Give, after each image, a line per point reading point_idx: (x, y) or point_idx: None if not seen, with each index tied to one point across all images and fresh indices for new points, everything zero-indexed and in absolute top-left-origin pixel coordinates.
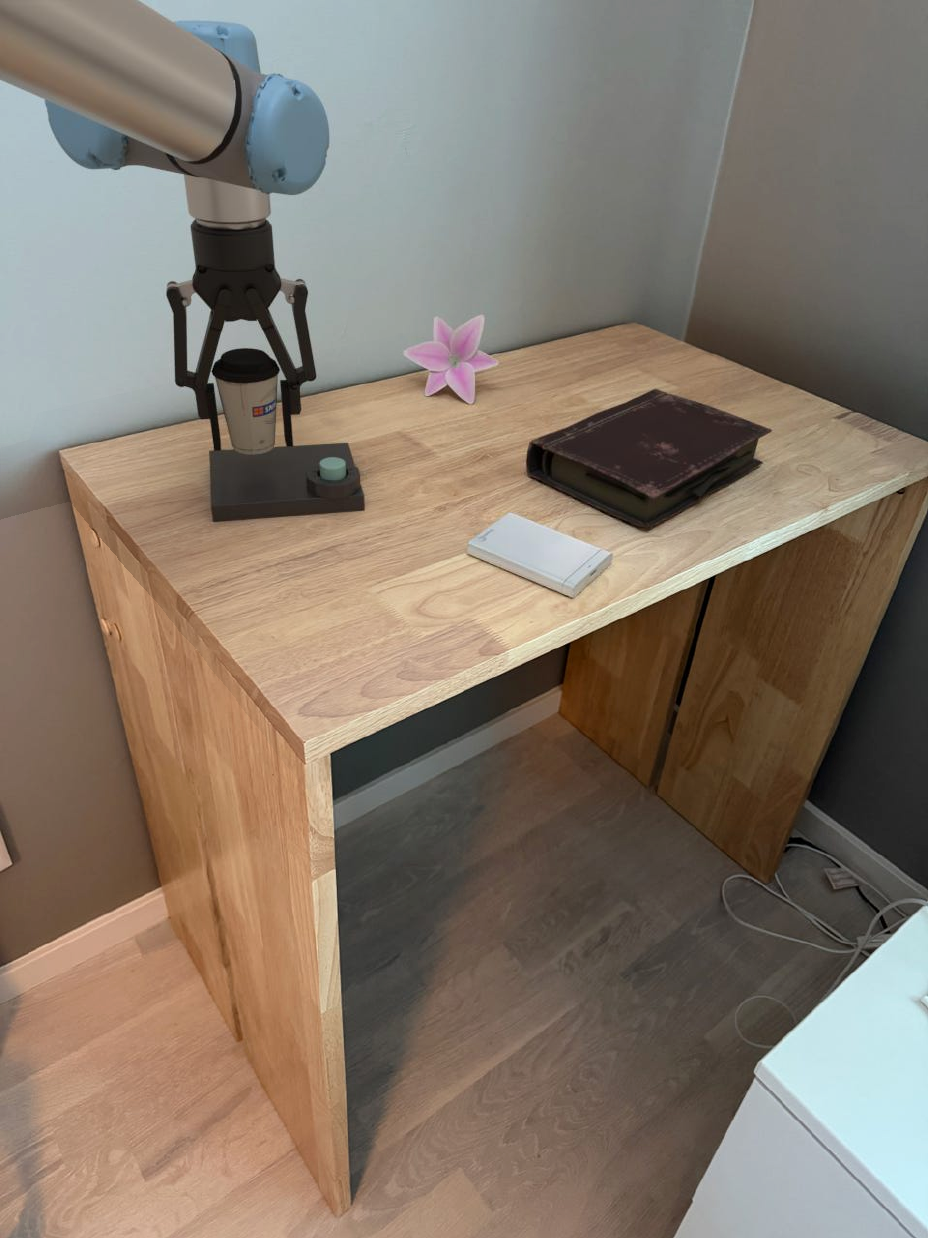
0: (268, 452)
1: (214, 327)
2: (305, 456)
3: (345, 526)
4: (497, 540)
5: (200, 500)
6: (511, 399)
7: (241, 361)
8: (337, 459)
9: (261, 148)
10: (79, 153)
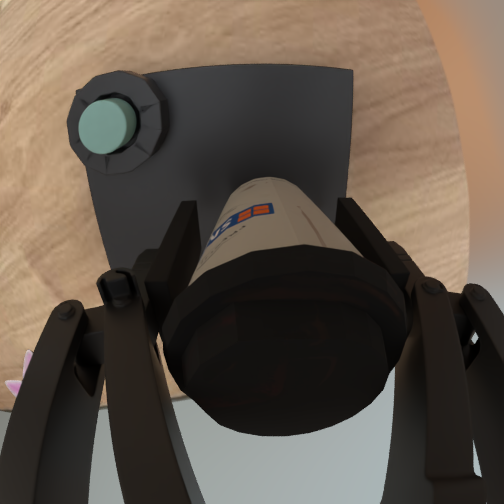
0: None
1: (468, 485)
2: None
3: (121, 38)
4: None
5: (358, 145)
6: (5, 348)
7: (318, 365)
8: (92, 143)
9: None
10: None
